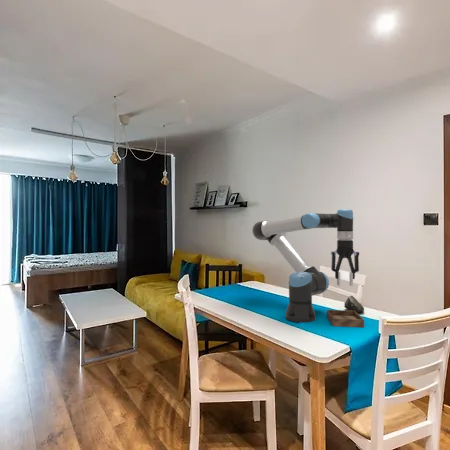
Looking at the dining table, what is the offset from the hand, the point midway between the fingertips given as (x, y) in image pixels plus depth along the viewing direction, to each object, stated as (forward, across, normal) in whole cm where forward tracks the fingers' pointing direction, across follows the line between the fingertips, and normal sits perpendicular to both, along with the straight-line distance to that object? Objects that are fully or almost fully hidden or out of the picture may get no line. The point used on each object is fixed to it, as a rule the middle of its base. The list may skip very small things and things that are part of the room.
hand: (344, 285), depth 151 cm
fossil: (+19, +11, +15) cm, 26 cm away
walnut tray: (+18, -1, -3) cm, 18 cm away
